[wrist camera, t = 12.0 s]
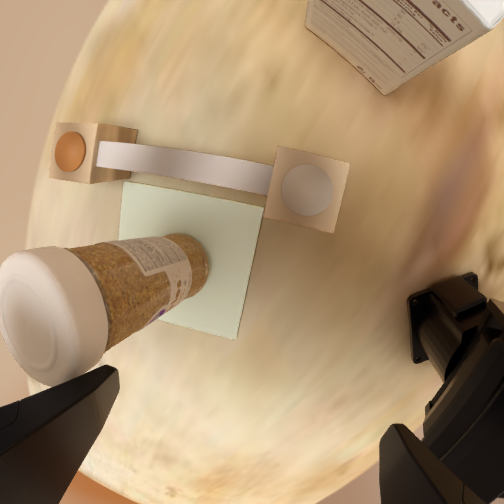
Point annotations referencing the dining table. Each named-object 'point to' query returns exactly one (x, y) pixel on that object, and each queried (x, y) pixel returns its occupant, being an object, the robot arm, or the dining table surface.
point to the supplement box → (399, 33)
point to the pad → (212, 241)
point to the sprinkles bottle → (91, 299)
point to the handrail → (206, 171)
